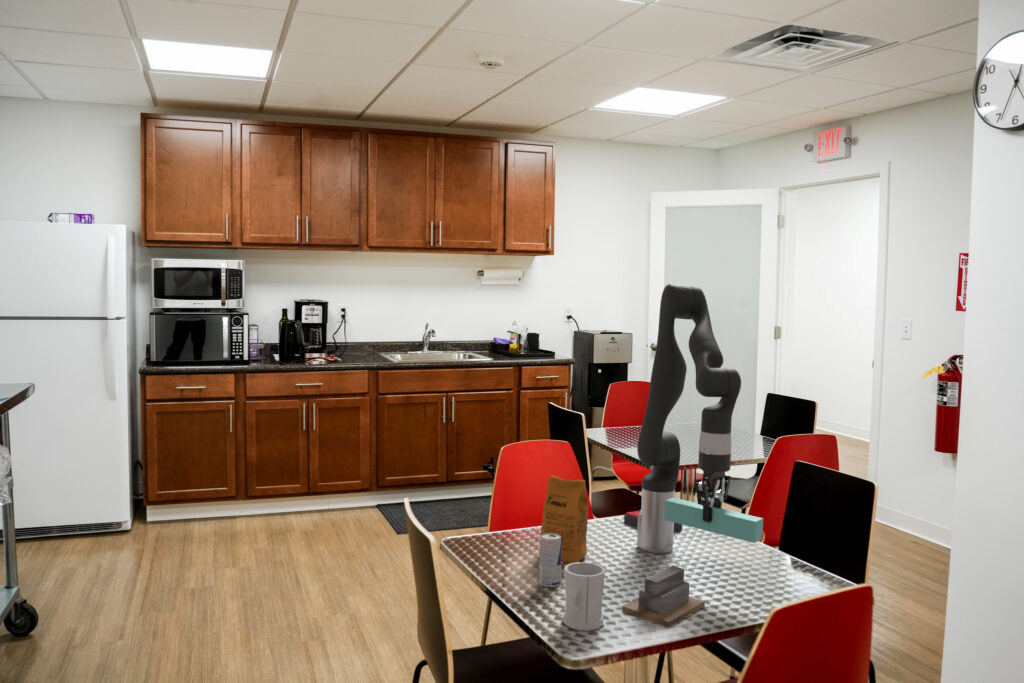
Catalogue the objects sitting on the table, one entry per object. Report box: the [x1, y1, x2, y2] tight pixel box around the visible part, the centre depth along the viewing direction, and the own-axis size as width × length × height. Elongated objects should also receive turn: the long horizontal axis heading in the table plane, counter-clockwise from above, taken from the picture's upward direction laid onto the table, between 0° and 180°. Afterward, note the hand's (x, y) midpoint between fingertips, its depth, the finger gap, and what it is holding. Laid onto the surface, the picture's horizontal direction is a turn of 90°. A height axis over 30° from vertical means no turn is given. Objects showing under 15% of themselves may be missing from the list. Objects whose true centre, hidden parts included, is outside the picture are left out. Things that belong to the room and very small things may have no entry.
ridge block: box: [621, 565, 706, 628], centre depth 176 cm, size 12×16×8 cm
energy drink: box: [538, 533, 562, 589], centre depth 189 cm, size 5×5×12 cm
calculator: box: [623, 509, 683, 532], centre depth 240 cm, size 11×4×15 cm
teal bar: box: [664, 497, 764, 544], centre depth 187 cm, size 24×4×5 cm, turn 48°
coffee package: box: [540, 474, 589, 564], centre depth 209 cm, size 10×12×22 cm
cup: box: [562, 561, 606, 632], centre depth 166 cm, size 10×9×12 cm
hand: (711, 519), depth 187 cm, fingers closed on teal bar, 4 cm apart
